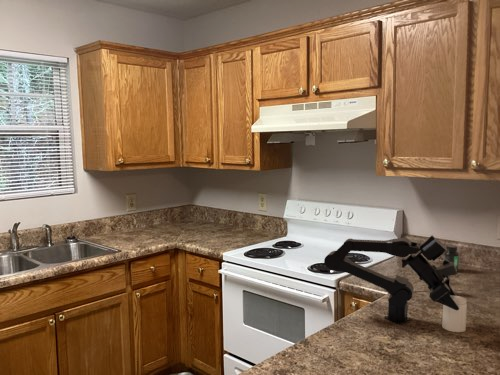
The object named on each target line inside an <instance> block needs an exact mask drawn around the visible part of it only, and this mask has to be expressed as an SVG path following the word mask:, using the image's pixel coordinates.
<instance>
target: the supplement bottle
mask: <svg viewBox="0 0 500 375" xmlns="http://www.w3.org/2000/svg"><path fill="white" fill-rule="evenodd" d="M445 247H446V248H447V251H446V252H445V253H443V261H444V260H448V261H449V262H453V263H454V265H455V267H456V269H457V271H458V272H459V268H460V253H459V252H458V246H457V245H451V244H450V245H449V244H448V245H446V246H445Z"/></svg>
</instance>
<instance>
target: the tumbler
mask: <svg viewBox="0 0 500 375" xmlns="http://www.w3.org/2000/svg"><path fill="white" fill-rule="evenodd" d="M450 296H451V297H452V298H453V300H454V301H455V303H456V304H457V306H458V307H459V310H457V311H456V310H454V309H452V308H450V307H448V306H445V305H443V304H442V324H441V325H442V326H441V327H442V328H443V329H444V330H446V331H448V332H453V333H462V332H466V329H467V328H466V324H467V299H466V298H465V297H463V296H459V295H456V296H454V295H450Z"/></svg>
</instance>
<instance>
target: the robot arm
mask: <svg viewBox="0 0 500 375" xmlns="http://www.w3.org/2000/svg"><path fill="white" fill-rule="evenodd" d="M446 251H447V248H446V246H445V245H444V243H443V242H442V241H441V240H439V239H438V238H436V237H435V236H434V234H433V235H432V234H431V235H430V236H429V237H428V238H427V239H426V240H425V241H424V242H423V243H420V242H415V241H414V242H413V241H412V240H410V239H409V238H407V237H399V238H398V237H397V238H391V239H387V240H386V239H385V240H382V239H380V240H376V239H375V240H374V239H354V238H348V239H346V240H345V241H344V242H343V244H341V245H340V246H339V248H338V249H336V250H333V251H332V250H331V252H329V253H328V254H327V255H326V256H325V257H324V260H323V262H324V266H325V268H327V269H328V270H330V271H334V272H339V273H347V274H349V275H351V276H354V277H355V278H359V279H361V280H363V281H365V282H367V283H369V284H372V285H373V286H376V287H378V288H381V289H384V291H386V292H387V293H388V294H389V297H388V298H387V301H388V311H387V313H388V314H387V315H385V316H384V319H386V320H389V321H391V322H393V323H395V324H403V323H407V322H409V321H411V317H408V309H409V308H408V302H409V301H410V300H411V299H412V297H413V294H414V289H415V288H414V286H413V284H412V282H410V281H409V279H408V278H405V277H404V278H403V277H401V276H400V275H399V274H396V275H395V277H388V276H386V275H384V274H382V273H380V272H378V271H375V270H372V269H370V268H367V267H366V266H363V265H361V264H359V263H357V262H353V261H352V260H351V259H350V258H349V257H348V256H347V255H348V254H349V253H350V252H365V253H366V252H369V253H371V252H372V253H383V254H388V255H390V256H394V257H399V258H401V268H405V267H407V265H408V267H409V268H410V269H412V271H413V272H414V273H415V274H416V275H417V276H418V279H419V280H420V281H423V282H424V283H425V285H427V288H428V290H429V299H430V300H431V301H432V302H436V303H439V304H441V305H442V306H443V305H445V306H448V307H450V308H452V309H454V310H456V311H457V310H459V307H458V306H457V304H456V303H455V301H454V300H453V298H452V297H451V296H450V295H454V296H457V294H456V293H455V291H454V290H453V288H452V286H451V285H450V283H451V282H450V280H451V279H450V276H456V275H457V274H458V272H457V269H456V267H455V265H454V263H453V262H449V261H448V260H444V259H443V260H442V264H441V265H440V264H439V265H438V266H439V267H436V266H437V265H435V264H433V263H432V264H431V263H430V261H436V260H437V259H438V258H439V257H441V256H443V255H444V253H445V252H446Z"/></svg>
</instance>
